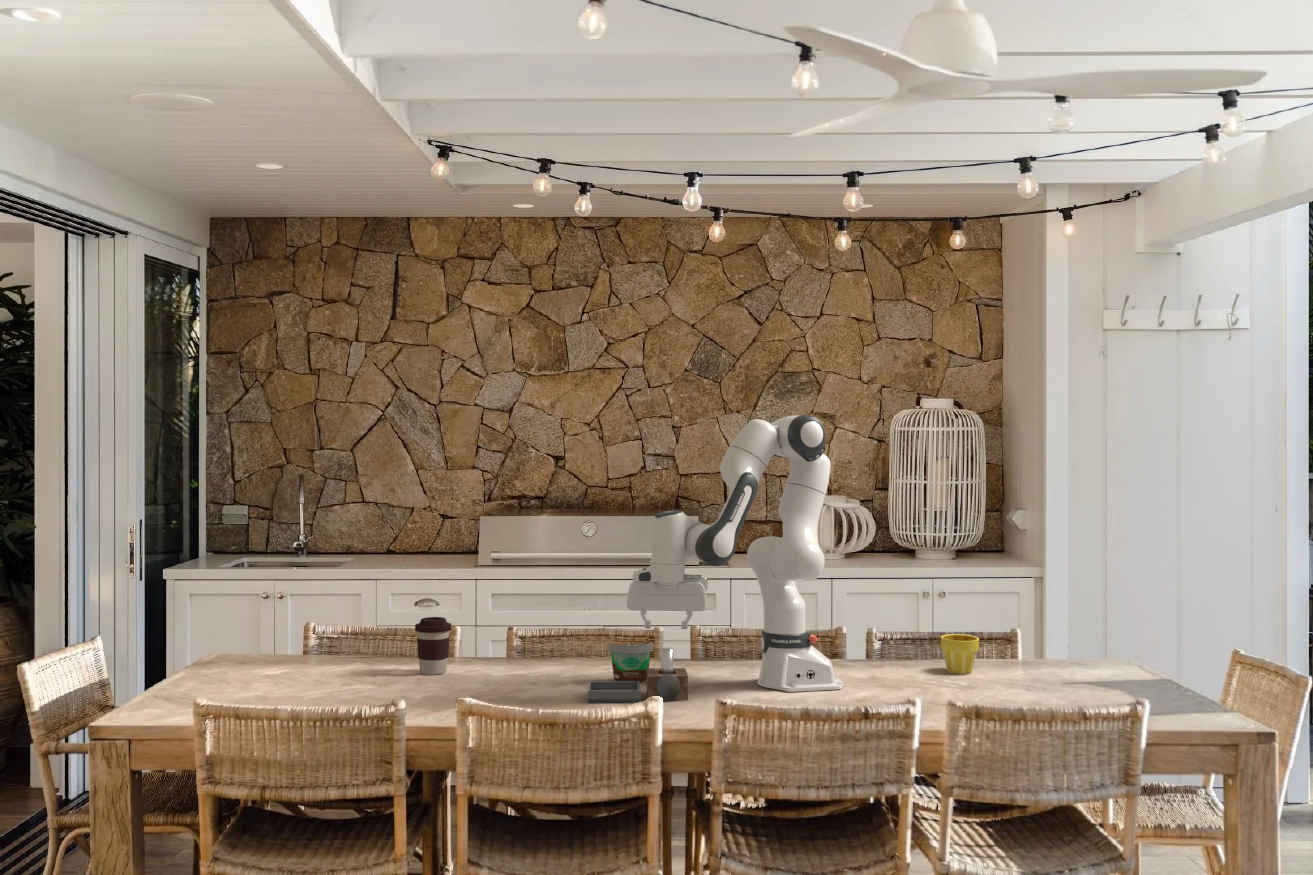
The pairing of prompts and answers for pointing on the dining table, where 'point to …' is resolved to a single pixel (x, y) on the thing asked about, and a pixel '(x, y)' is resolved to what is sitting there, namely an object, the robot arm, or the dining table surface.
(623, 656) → the food container
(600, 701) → the tray
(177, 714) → the dining table surface
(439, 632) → the coffee cup
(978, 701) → the dining table surface
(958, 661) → the plant pot
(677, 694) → the block
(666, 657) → the lock pin
